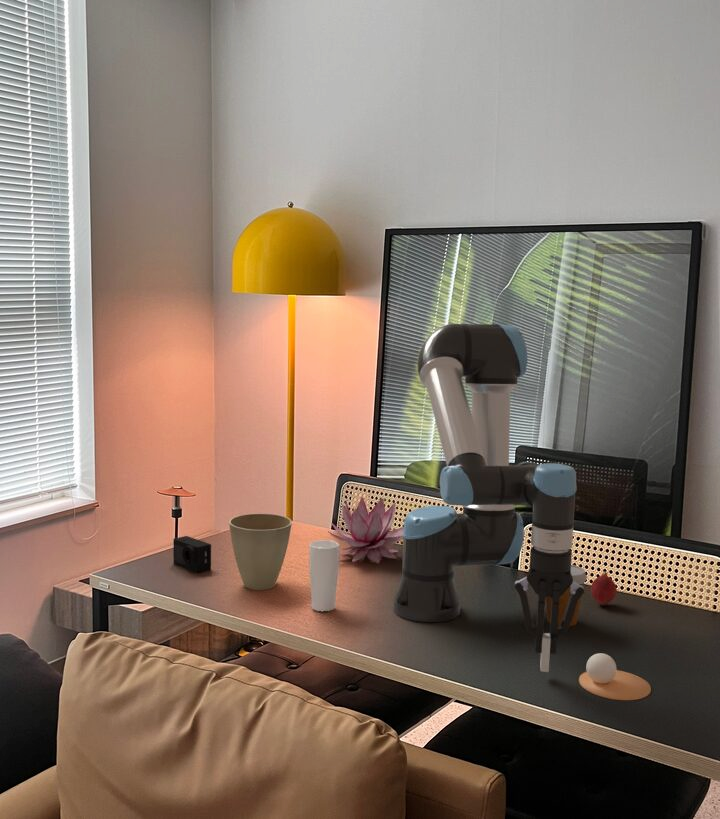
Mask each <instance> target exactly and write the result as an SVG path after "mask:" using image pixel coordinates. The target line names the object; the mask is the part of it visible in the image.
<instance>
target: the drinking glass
mask: <svg viewBox="0 0 720 819" xmlns="http://www.w3.org/2000/svg"><path fill="white" fill-rule="evenodd" d="M339 548H340V543H338V541H333V540H330V539H329V540H327V539H322V540H321V539H320V540H314V541H311V542H310V543H309V550H308V551H309V552H308V554H309V555H308V557H309V558H308V562H309V563H308V565H309V577H310V578H309V579H310V582H309V583H310V596H311V598H310V599H311V602H310V603H311V608H312V609H313V611H316V612H319V611H321V612H322V613H324V612H323V611H328V612H331V611H333V610H334V609H335V608H336V595H337V585H338V577H339V569H340V568H339V567H340V556H339V555H340V554H341V553H340V549H339ZM330 610H331V611H330Z"/></svg>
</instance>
